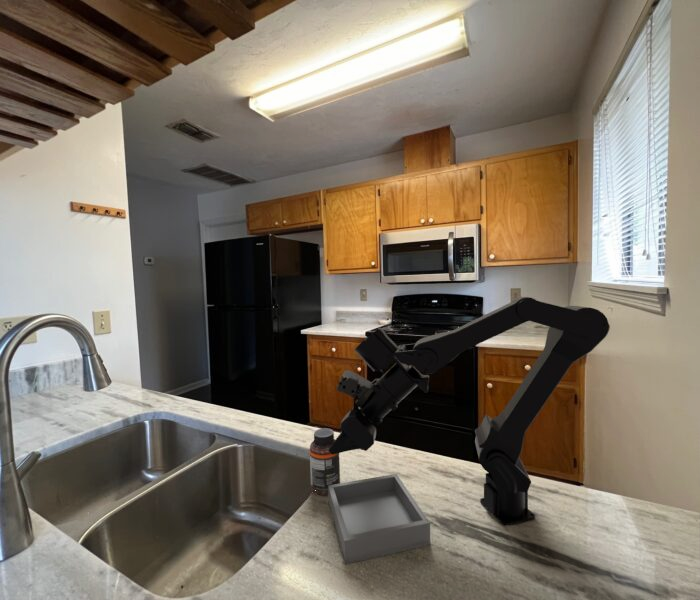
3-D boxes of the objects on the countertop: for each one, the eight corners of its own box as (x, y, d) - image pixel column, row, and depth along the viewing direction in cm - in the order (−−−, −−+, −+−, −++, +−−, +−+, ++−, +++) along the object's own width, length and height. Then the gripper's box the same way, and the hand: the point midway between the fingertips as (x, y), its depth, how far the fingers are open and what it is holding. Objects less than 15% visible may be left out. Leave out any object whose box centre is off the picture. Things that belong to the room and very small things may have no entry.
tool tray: (396, 491, 62) (396, 473, 62) (430, 544, 49) (430, 522, 49) (328, 503, 59) (328, 485, 59) (344, 564, 46) (344, 540, 46)
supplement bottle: (325, 474, 69) (323, 423, 68) (346, 485, 65) (345, 430, 64) (304, 488, 64) (303, 433, 64) (325, 500, 60) (324, 441, 60)
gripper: (368, 349, 71) (321, 395, 74) (352, 370, 53) (291, 431, 55) (403, 385, 70) (355, 431, 72) (400, 420, 52) (335, 480, 54)
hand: (336, 440), depth 64 cm, fingers open, 9 cm apart
